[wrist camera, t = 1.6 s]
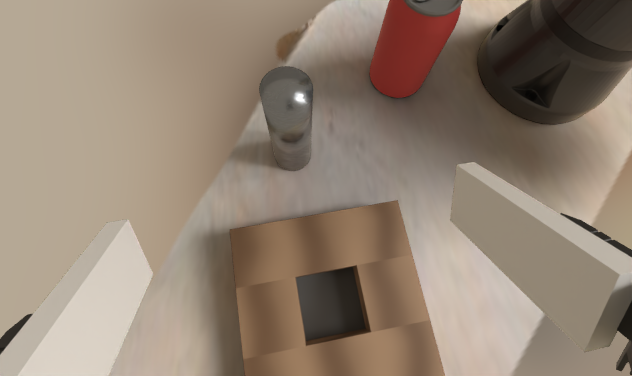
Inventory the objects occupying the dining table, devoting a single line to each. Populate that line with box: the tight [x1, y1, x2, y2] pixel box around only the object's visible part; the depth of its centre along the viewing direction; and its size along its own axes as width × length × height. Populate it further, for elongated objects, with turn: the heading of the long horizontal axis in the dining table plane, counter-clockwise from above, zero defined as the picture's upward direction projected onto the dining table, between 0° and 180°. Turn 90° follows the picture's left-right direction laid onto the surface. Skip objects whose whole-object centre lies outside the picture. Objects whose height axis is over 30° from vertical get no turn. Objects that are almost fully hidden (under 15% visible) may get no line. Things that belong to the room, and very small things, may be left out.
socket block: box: [230, 200, 445, 376], centre depth 28 cm, size 16×16×4 cm
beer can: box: [369, 0, 463, 98], centre depth 32 cm, size 7×7×12 cm
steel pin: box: [259, 66, 313, 171], centre depth 29 cm, size 4×4×12 cm
